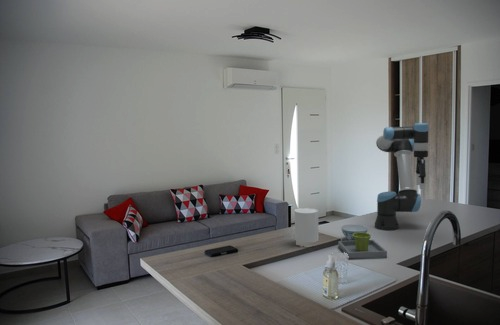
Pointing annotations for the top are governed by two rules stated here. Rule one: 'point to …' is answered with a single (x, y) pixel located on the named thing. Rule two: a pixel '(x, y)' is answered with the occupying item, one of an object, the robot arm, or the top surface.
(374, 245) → the tray
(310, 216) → the canister
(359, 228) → the chinaware
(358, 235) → the plant pot
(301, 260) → the top surface
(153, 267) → the top surface
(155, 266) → the top surface
